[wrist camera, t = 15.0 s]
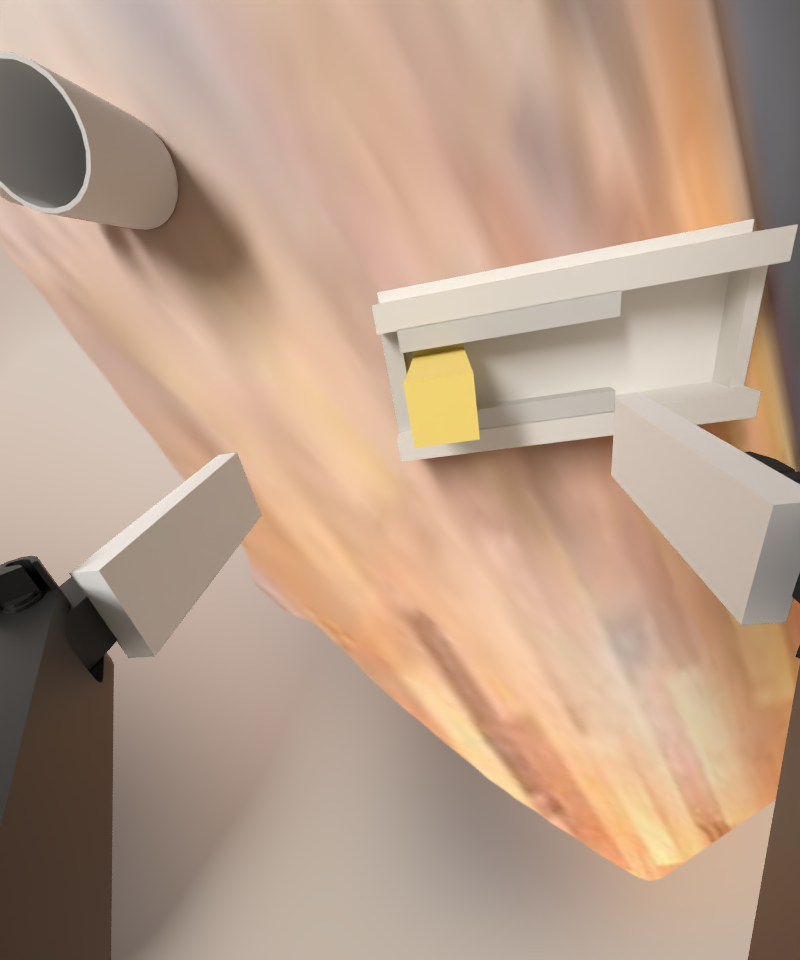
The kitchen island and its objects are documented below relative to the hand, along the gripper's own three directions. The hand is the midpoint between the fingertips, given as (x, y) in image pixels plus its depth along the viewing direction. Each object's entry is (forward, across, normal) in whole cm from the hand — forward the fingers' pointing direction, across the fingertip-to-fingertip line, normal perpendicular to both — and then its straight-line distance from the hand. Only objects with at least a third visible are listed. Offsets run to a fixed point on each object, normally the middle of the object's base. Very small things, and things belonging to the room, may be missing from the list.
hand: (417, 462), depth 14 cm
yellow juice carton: (+22, +1, -2) cm, 22 cm away
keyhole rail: (+23, +10, -2) cm, 25 cm away
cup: (+23, -22, +17) cm, 36 cm away
